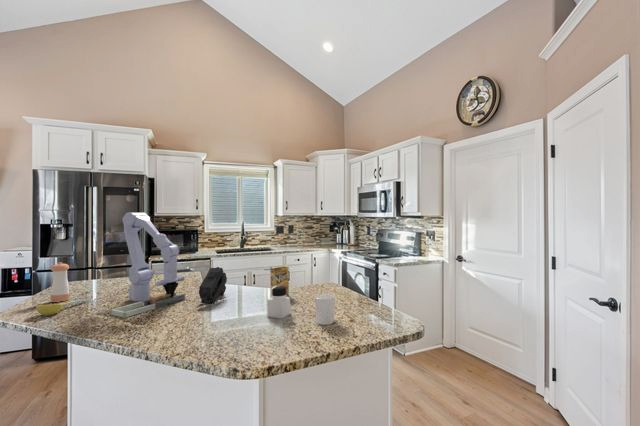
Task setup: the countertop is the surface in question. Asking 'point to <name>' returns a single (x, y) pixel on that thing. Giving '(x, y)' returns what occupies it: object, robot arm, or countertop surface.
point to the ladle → (52, 308)
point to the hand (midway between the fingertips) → (170, 298)
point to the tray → (123, 314)
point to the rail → (165, 301)
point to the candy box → (280, 277)
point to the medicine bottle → (278, 303)
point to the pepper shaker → (60, 283)
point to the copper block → (155, 298)
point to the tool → (213, 285)
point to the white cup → (325, 308)
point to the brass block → (165, 295)
